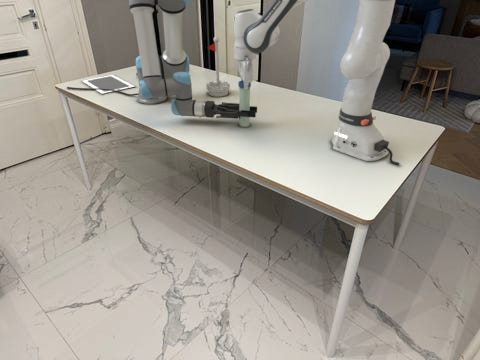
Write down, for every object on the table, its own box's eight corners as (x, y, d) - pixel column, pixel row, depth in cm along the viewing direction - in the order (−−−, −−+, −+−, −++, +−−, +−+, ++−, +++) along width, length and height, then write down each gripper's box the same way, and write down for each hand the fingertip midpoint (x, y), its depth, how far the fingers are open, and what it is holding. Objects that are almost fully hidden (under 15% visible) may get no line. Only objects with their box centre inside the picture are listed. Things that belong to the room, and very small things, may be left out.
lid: (239, 88, 143) (239, 84, 142) (237, 84, 148) (237, 80, 147) (251, 88, 144) (251, 83, 143) (249, 84, 148) (249, 80, 147)
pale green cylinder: (237, 125, 155) (237, 85, 145) (242, 122, 158) (242, 82, 148) (246, 127, 153) (246, 87, 143) (251, 124, 156) (251, 84, 146)
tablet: (81, 81, 211) (81, 80, 210) (113, 75, 222) (113, 74, 222) (102, 94, 190) (101, 93, 190) (135, 86, 201) (135, 86, 201)
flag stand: (225, 88, 199) (224, 33, 182) (233, 95, 188) (232, 38, 172) (204, 91, 195) (200, 35, 178) (210, 98, 184) (207, 39, 168)
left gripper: (210, 109, 164) (258, 112, 160) (201, 124, 149) (253, 127, 146) (209, 94, 159) (258, 97, 156) (199, 108, 145) (253, 111, 142)
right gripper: (256, 59, 130) (255, 94, 137) (248, 47, 147) (248, 79, 154) (240, 60, 129) (240, 95, 137) (234, 48, 146) (234, 80, 154)
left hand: (256, 111), depth 151 cm, fingers closed on pale green cylinder, 5 cm apart
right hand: (244, 86), depth 146 cm, fingers closed on lid, 5 cm apart
